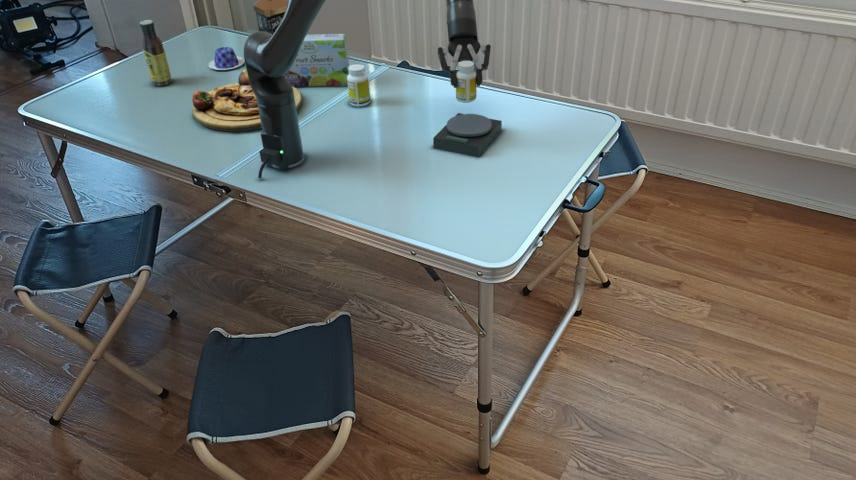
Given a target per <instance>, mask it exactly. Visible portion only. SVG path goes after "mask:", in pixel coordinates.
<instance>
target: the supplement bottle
mask: <svg viewBox="0 0 856 480" xmlns="http://www.w3.org/2000/svg"><path fill="white" fill-rule="evenodd" d="M457 68H458V69H457V70H456V80H457V88H455V99H456V101H457V102H459V103H462V104H470V103H473V102H475V101H476V100H477V74H476V69H475V68H474V63H473V62H472V61H461V62H458V64H457Z"/></svg>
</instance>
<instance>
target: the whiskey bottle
mask: <svg viewBox="0 0 856 480" xmlns="http://www.w3.org/2000/svg"><path fill="white" fill-rule="evenodd" d="M286 7H287V0H258V1H256V2H255V3H254V4H253V7H252V8H253V11H254V12H255V15H256V21H257V26H258V31H264V32H268V33H270V34H272V35H273V34H274V32H275V31H276V29H277V27H278V26H279V24H280V22H281V20H282V18H283V16H284V14H285V11H286Z"/></svg>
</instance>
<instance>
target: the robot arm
mask: <svg viewBox="0 0 856 480" xmlns="http://www.w3.org/2000/svg"><path fill="white" fill-rule="evenodd" d="M445 1H446V3H445V4H446V27H447V39H448V43H447V46H446V47H442V46H438V48H437V57H438V59H439V63H440V67H441V70H442V72H443V73H444V74H445V73H448V74H449V79H450V86H451V87H453V89H456V88H457V80H456V72H457V70H456V69H457V68H458V64H459V62H461V61H472V62H473V63H474V70H475V71H476V74H477V85H476V88H477V87H481V85H482V84H483V79H484V78H483V72H484V71H487V70H488V68H489V64H490V57H491V56H490V55H491V48H492V46H491V44H489V43H487V44H486V45H484V44H481V43H480V41H479V38H478V37H479V36H478V26H477V16H476V9H475V4H474V3H475V2H474V0H445ZM325 2H326V0H287V7H286V11H285V14H284V16H283V18H282V20H281V22H280V24H279V26H278V27H277V29H276V31H275V32H274V34H273V35H272V34H270V33H268V32H264V31H259V30H258V31H254V32H253V33H251V34H250V35H248V37H247V38H246V40H245V42H244V45H243V59H244V60H245V62H244V65H245V70H247V73H248V78H249V82H250V86H251V88H252V91H253V92H254V94H255V96H256V100H257V105H258V110H259V115H260V121H261V126H262V128H261V130H262V131H261V132H260V139H261V143H262V149H260V150H259V152H258V153H259V157H260V158H259V159H260V162H261V163H262V164H261V165H260V167H259V170H258V175H257V178H258V179H262V175H263V171H264V168H265V166H266V167H268V168H271V169H276V170H280V171H284V172H285V171H287V170H290V169H293V168H296V167H298V166H300V165H302V164H303V163H304V162H305V154H304V149H303V148H304V147H303V142H302V138H301V130H300V124H299V119H298V118H299V117H298V111H297V110H296V104H295V98H294V91H293V88H292V86H291V84H290V83H289V82H288V80H287V79H286V77H285V74H286V73H287V72H288V71H289V70H290V68H291V67H292V65H293V63H294V61H295V59H296V57H297V54H298V52H299V50H300V48H301V45H302V43H303V41H304V39H305V37H306V35H308V33H309V31H310V28H311V27H312V25H313V23H314V21H315V20H316V18H317V16H318V14H319V12H320V11H321V8H322V7H323V5H324V4H325ZM480 51H481V54H482V55H483V63H481V62H480V59H479V57H478V53H479V52H480ZM447 53H448V54H449V55H450V56H451V57H452V62H451V65H448V62H447V59H446V57H447Z"/></svg>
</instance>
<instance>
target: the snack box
mask: <svg viewBox="0 0 856 480" xmlns="http://www.w3.org/2000/svg"><path fill="white" fill-rule="evenodd" d="M347 44H348V43H347V36H346V33H320V34H319V33H318V34H315V33H314V34H306V37H305V39H304V41H303V43H302V45H301V48H300V50H299V52H298V54H297V57H296V59H295V61H294V63H293V65H292V67H291V68H290V70H289V71H288V72H287V73H286V74H285V77H286V79H287V80H288V82H289V83H290V84H291V86H293V87H295V88H296V87H297V88H299V87H303V88H304V87H348V83H347V76H348V75H349V70H348V68H349V66H350V64H349V53H348V45H347Z"/></svg>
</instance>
